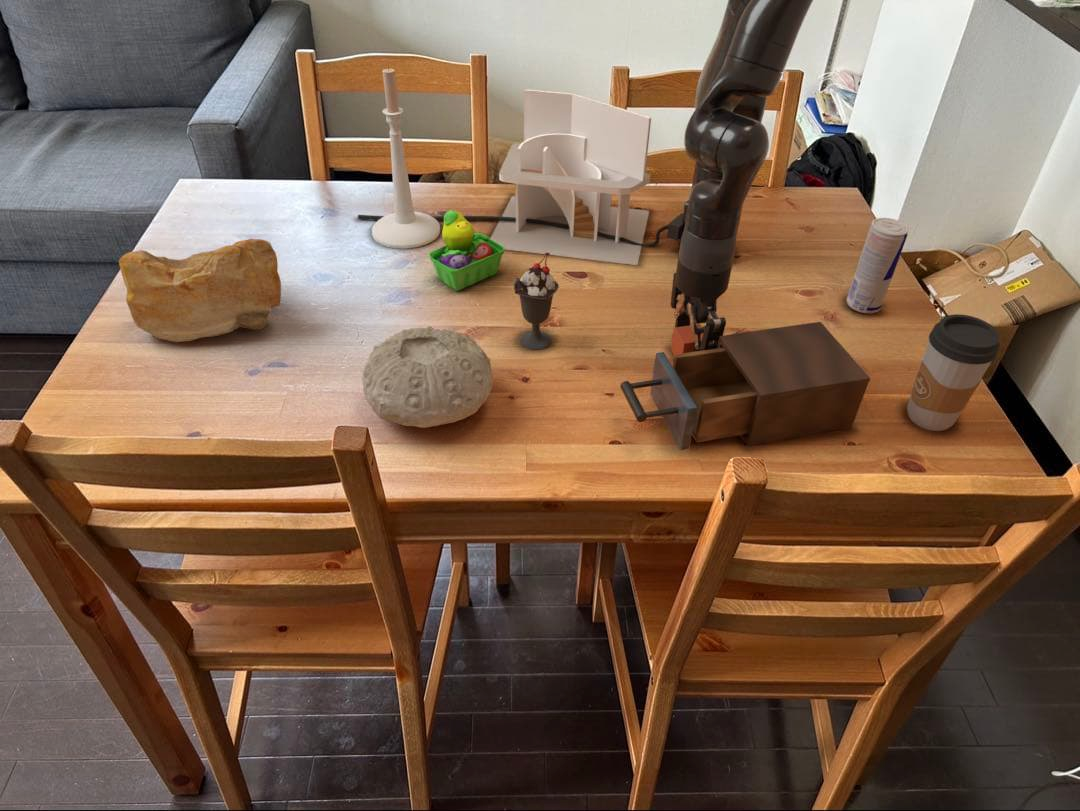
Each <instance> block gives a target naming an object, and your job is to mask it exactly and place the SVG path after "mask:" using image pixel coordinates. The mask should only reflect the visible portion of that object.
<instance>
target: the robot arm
mask: <svg viewBox="0 0 1080 811" xmlns="http://www.w3.org/2000/svg"><path fill="white" fill-rule="evenodd" d="M813 1H814V0H727V4H726V8H725V11H724V14H723V17H722V21H721V24H720V27H719V29H718V32H717V36H716V37H715V38H716V39H715V41H714V43H713V45H712V47H711V50H710V52H709V54H708V56H707V58H706V60H705V62H704V65H703V68H702V70H701V71H700V75H699V78H698V82H697V85H696V88H695V89H696V90H695V93H694V94H695V96H694V111H693V113H692V114H691V116H690V118H689V120H688V122H687V124H686V128H685V131H684V136H683V137H684V138H683V141H684V143H683V144H684V149H685V152H686V155H687V156H688V157H689V158H690V159H691V160H693V161H694V168H693V169H694V170H693V176H692V184H691V188H690V193H689V197H688V200H687V201H685V202H684V205H683V213H682V212H681V213H680V214H679V215H677V216H676V217H674V218H673V219H672V220H671V221H670V222H668V223H667V225H663V226H661V227H660V228H658V229H657V231H656V233H655V240H654V241H653V242H650V243H642V244H640V243H636V242H634V241H631V240H628V239H626V238H623V237H620V238H619V241H622V242H625V243H628V244H632V245H638V246H641V247H644V248H653V247H655V246H657V245H658V244H659V242H660V237H661V234H662V233H663V232H664V231H667V232H666V238H667V239H670V240H673V241H676V242H678V247H677V251H678V256H677V257H678V258H677V263H676V270H675V272H674V273H673V279H672V287H671V296H670V308H671V309H675V310H674V313H673V315H674V318H675V324H674V328H675V327H682V326H689V325H690V329H691V333H693V334H694V341H695V346H694V350H693V352H697V351H703V350H710V349H717V346H718V341H719V336H723V335H724V333H725V329H726V326H727V320H726V317H725V316H722V317H719V316H718V314H717V308H718V306H717V302H718V299H719V298H720V297H721V296H723V294H725V293H726V292H727V290H728V288H729V283H730V279H731V274H732V270H733V269H732V268H733V264H734V258H735V253H736V247H737V236H738V232H739V227H740V221H741V217H742V211H743V207H744V202H745V200H746V198H747V196H748V194H749V192H750V190H751V187H752V185H753V183H754V181H755V179H756V177H757V175H758V173H759V172H760V169H761V168H762V166H763V164H764V162H765V160H766V158H767V156H768V152H769V148H770V139H769V134H768V131H767V129H766V128H767V127H765V126H764V124H763V123H762V121H763V117H764V114H765V110H766V107H767V102H768V98H769V97H770V96H771V95H773V94H774V93H775V92H776V90H777V88H778V85H779V84H780V81H781V80H782V76H783V73H784V71H785V68H786V66H787V63H788V61H789V58H790V55H791V54H792V51H793V48H794V45H795V42H796V40H797V37H798V35H799V32H800V30H801V28H802V25H803V23H804V21H805V18H806V17H807V14H808V12H809V10H810V8H811V6H812V3H813ZM384 216H385V215H372V214H371V215H369V214H358V215H357V219H358V220H375V221H376V220H377V221H378V220H379V219H381V218H382V217H384ZM431 216H432V215H431ZM463 216H464V218H465V219H466V220H467V221H473V220H474V221H500V220H503V221H516V218H515V217H502V216H498V215H496V216H495V215H463ZM432 217H433V218H435V219H436V220H437V221H444V215H436V216H435V215H433V216H432ZM525 222H528V223H537V224H544V225H551V226H557V227H562V228H567V229H570V228H569V225H567V224H562V223H556V222H550V221H543V220H536V219H526V221H525ZM597 236H601V237H605V238H609V239H614V240H615V238H616V236H614V235H609V234H605V233H601V232H598V231H597ZM678 296H679V299H678ZM697 324H700V325H701V324H703V326H701V327H697ZM701 333H703V338H702V341H701V337H700V335H701Z"/></svg>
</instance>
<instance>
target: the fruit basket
mask: <svg viewBox="0 0 1080 811" xmlns="http://www.w3.org/2000/svg"><path fill="white" fill-rule="evenodd" d="M443 216H444V220H443V227H442V229H441V230H442V231H441V237H442V241H443V243H444V244H445V245H444V246H441V247H439V248H437V249H435V250H432V251H430V252H429V253H428V257H429V259H430V261H431V262H432V263H433V267H434V270H435V272H436V274H437V276H438V279H439V280H440V281H442V282H443V283H444V284H446V285H447V286H448V287H450V288H451V289H453V290H454V291H456V292H459V291H460V290H463V289H465V288H466V287H469V286H470V287H471V286H472V285H475V284H476V283H477V282H481V281H483V280H486V279H487V278H488V277H492V276H495V275H496V274H498V270H499V268H500V264H501V261H502V257H503V255H504V253H505V250H506V249H505V248H504V247H503V246H501V245H500V244H498V243H496V242H495V241H493V240H492V239H490V238H491V237H488V236H487V235H485V234H483V233H481V232H477V233H475V229H474V226H473V225H472V223H470V221H469V220H466V219H465V218H464V216H465V215H463V213H461V212H460V211H459V212H458V211H456V210H454V209H449V210H448V211H446V212H445V213H444V215H443Z"/></svg>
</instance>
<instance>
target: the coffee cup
mask: <svg viewBox="0 0 1080 811" xmlns="http://www.w3.org/2000/svg"><path fill="white" fill-rule="evenodd" d="M1000 339H1001V336H1000V332H999V331H998V330H997V329H996V328H995V327H994V326H993V324H990V323H989V322H987V321H985V320H983V319H981V318H979V317H975V316H972V315H968V314H967V315H966V314H949V315H946V316H944V317H942V318H940V320H939V322H937V323H936V324H934V326H933V327H932V330H931V331H930V333H929V334H928V343H927V346H926V347H925V348H926V349H925V352H924V354H923V358H922V360H921V362H920V365H919V368H918V370H917V374H916V377H915V380H914V383H913V386H912V388H911V389H912V390H911V393H910V397H909V400H908V402H907V405H906V412H907V415H908V418H909V420H911V422H913V423H914V424H915V425H916V426H918V427H920V428H921V429H924V430H926V431H927V430H928V431H933V432H942V431H945V430H948V429H949V428H951V427H952V426H954V424H955V423H956V421H957V420H958V418H959V416H960V415H961V413H962V412H963V410H964V409H965V408H966V407H967V405H968V403H969V401H970V399H971V398H972V397H973V395H974V392H975V391H976V390H977V388H978V386H979V385H980V383H981V381H982V379H983V377H984V375H985V374H986V372H987V371H988V368H989V367H990V365H991V363H992V362H993V361H994V360H995V359H997V357H998V352H999V350H1000V347H1001V344H1000Z"/></svg>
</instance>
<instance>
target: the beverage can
mask: <svg viewBox="0 0 1080 811" xmlns="http://www.w3.org/2000/svg"><path fill="white" fill-rule="evenodd" d="M909 232H910V229H909V226H908V225H907V224H906V223H904V222H902V221H901V220H898V219H895V218H890V217H877V218H875V219H873V220H872V221H871V224H870V226H869V229H868V232H867V235H866V238H865V242H864V244H863V248H862V250H861V254H860V257H859V260H858V263H857V266H856V269H855V273H854V276H853V279H852V281H851V285H850V288H849V291H848V294H847V297H846V304H847V305H848V307H849V308H851V309H852V310H854V311H856V312H858V313H861V314H862V313H863V314H874V313H877V312H879V311H881V309H882V307H883V305H884V301H885V298H886V295H887V293H888V290H889V288H890V284H891V281H892V280H893V277H894V273H895V271H896V268H897V266H898V262H899V260H900V258H901V254H902V251H903V249H904V246H905V244H906V241H907V238H908V233H909Z"/></svg>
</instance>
